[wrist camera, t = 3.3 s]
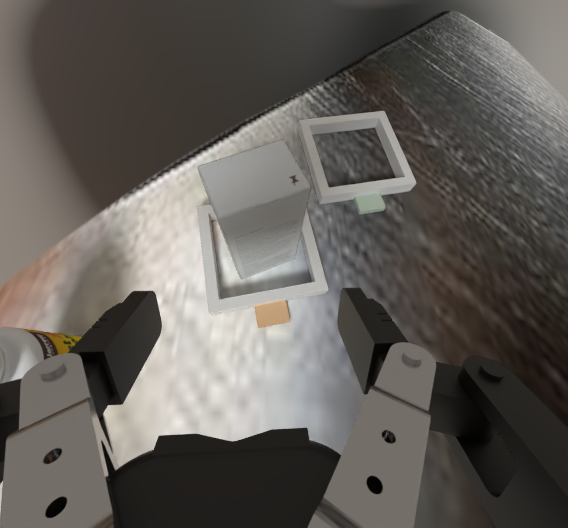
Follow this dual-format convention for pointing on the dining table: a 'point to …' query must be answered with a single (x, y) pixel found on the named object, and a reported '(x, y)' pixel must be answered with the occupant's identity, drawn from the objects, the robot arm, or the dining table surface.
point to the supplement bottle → (29, 350)
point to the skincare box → (258, 205)
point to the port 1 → (268, 302)
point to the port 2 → (361, 193)
